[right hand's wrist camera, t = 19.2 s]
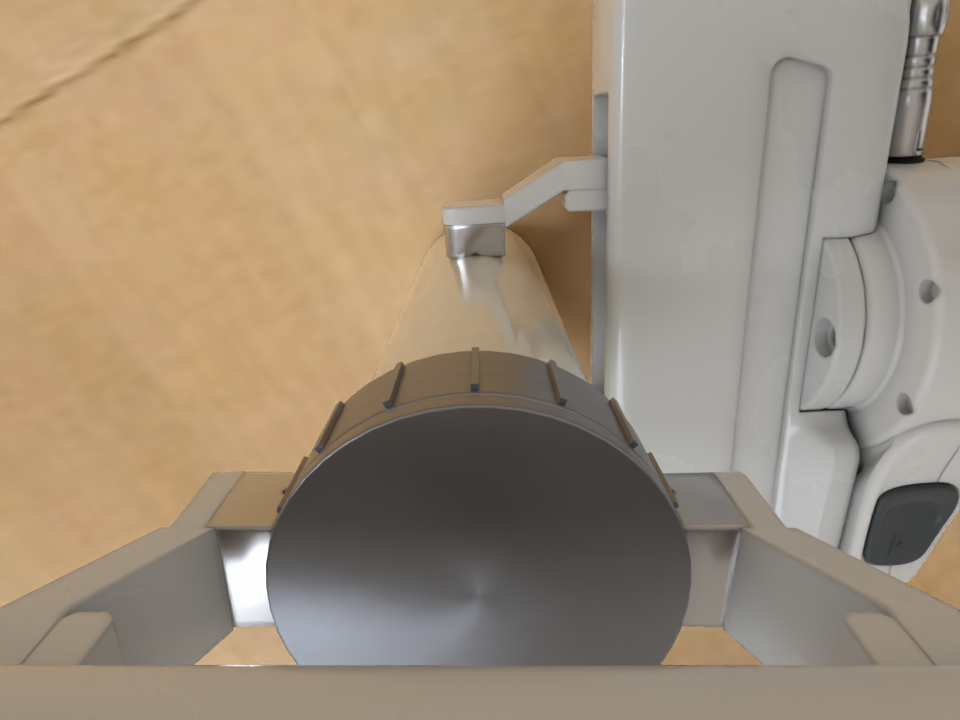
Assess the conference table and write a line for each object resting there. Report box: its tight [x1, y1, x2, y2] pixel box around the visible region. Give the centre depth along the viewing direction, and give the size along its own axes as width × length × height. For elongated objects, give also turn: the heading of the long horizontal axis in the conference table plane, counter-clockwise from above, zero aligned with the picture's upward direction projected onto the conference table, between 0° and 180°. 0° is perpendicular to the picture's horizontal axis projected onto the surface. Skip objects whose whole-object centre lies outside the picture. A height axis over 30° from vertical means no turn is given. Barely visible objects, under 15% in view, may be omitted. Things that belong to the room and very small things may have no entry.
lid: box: [266, 347, 691, 665], centre depth 9 cm, size 6×6×2 cm
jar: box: [372, 228, 588, 383], centre depth 17 cm, size 5×5×17 cm
